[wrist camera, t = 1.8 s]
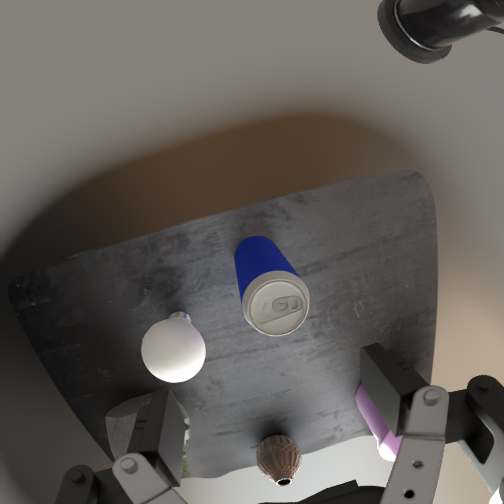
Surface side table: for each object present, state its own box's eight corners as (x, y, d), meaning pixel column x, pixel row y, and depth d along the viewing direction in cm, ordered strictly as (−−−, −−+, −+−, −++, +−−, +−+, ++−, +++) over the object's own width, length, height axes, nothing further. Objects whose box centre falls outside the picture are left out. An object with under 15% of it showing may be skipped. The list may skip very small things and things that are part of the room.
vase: (246, 450, 45) (251, 490, 37) (266, 424, 44) (275, 466, 36) (282, 458, 47) (291, 496, 38) (304, 433, 45) (317, 472, 37)
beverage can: (239, 281, 38) (250, 345, 24) (230, 239, 37) (236, 283, 22) (281, 272, 38) (316, 330, 24) (274, 230, 37) (308, 267, 23)
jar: (412, 350, 44) (452, 390, 32) (411, 398, 46) (443, 439, 35) (349, 376, 43) (379, 426, 32) (354, 423, 46) (379, 470, 35)
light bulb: (191, 350, 40) (184, 404, 29) (146, 325, 38) (124, 374, 28) (217, 311, 39) (217, 359, 28) (170, 283, 37) (153, 325, 27)
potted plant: (192, 385, 37) (234, 472, 37) (146, 379, 46) (182, 454, 45) (112, 429, 28) (170, 520, 28) (81, 410, 36) (127, 489, 36)
